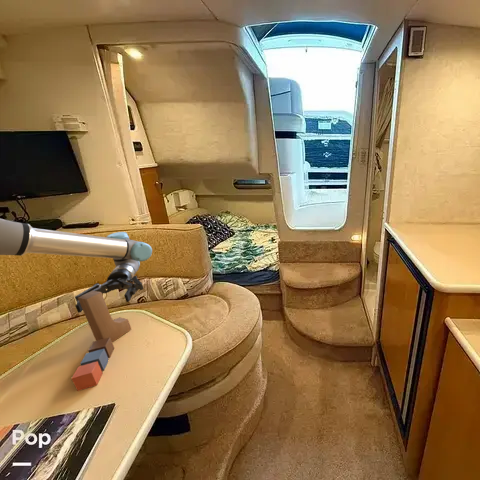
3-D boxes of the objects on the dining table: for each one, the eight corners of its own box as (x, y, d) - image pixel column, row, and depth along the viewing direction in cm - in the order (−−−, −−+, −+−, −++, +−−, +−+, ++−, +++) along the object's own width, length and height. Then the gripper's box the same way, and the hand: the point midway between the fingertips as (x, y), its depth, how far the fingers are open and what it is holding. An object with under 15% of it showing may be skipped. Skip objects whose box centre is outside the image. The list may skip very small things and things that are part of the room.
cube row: (97, 385, 73) (91, 372, 71) (77, 391, 71) (71, 378, 70) (114, 348, 86) (110, 337, 85) (98, 352, 85) (93, 341, 83)
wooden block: (123, 327, 97) (106, 283, 90) (132, 329, 95) (116, 284, 89) (97, 344, 89) (76, 297, 82) (106, 346, 87) (86, 299, 81)
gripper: (158, 278, 113) (148, 303, 95) (87, 292, 105) (61, 323, 87) (153, 262, 111) (142, 284, 92) (80, 275, 103) (51, 303, 84)
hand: (102, 303), depth 89 cm, fingers open, 13 cm apart
